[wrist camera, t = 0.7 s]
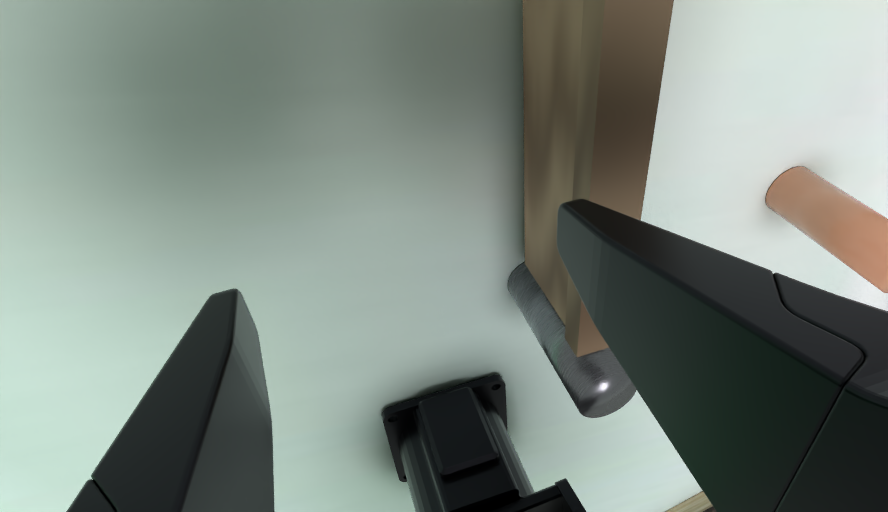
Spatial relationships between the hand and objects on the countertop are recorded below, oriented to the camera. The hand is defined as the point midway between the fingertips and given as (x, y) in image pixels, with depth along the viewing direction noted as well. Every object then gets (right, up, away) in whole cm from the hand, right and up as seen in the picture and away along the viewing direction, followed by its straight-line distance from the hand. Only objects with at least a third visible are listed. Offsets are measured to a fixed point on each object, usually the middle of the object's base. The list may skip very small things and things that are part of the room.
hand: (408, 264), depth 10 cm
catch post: (+17, +3, +18) cm, 26 cm away
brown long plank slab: (+4, +6, +10) cm, 13 cm away
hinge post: (+5, -1, +17) cm, 18 cm away
